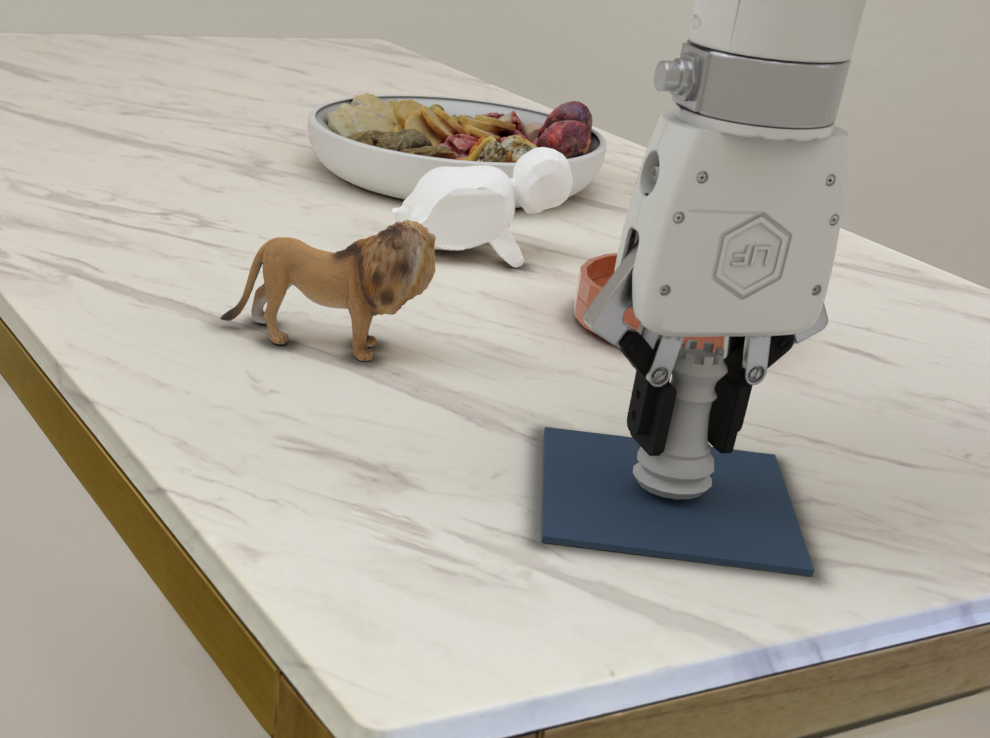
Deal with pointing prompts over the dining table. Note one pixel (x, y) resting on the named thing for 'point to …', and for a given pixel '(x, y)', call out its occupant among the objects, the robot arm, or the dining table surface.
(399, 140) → the bowl
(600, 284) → the terracotta bowl
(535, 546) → the dining table surface
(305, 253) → the lion figurine
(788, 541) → the dark blue square mat
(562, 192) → the white animal figurine
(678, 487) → the rook chess piece
